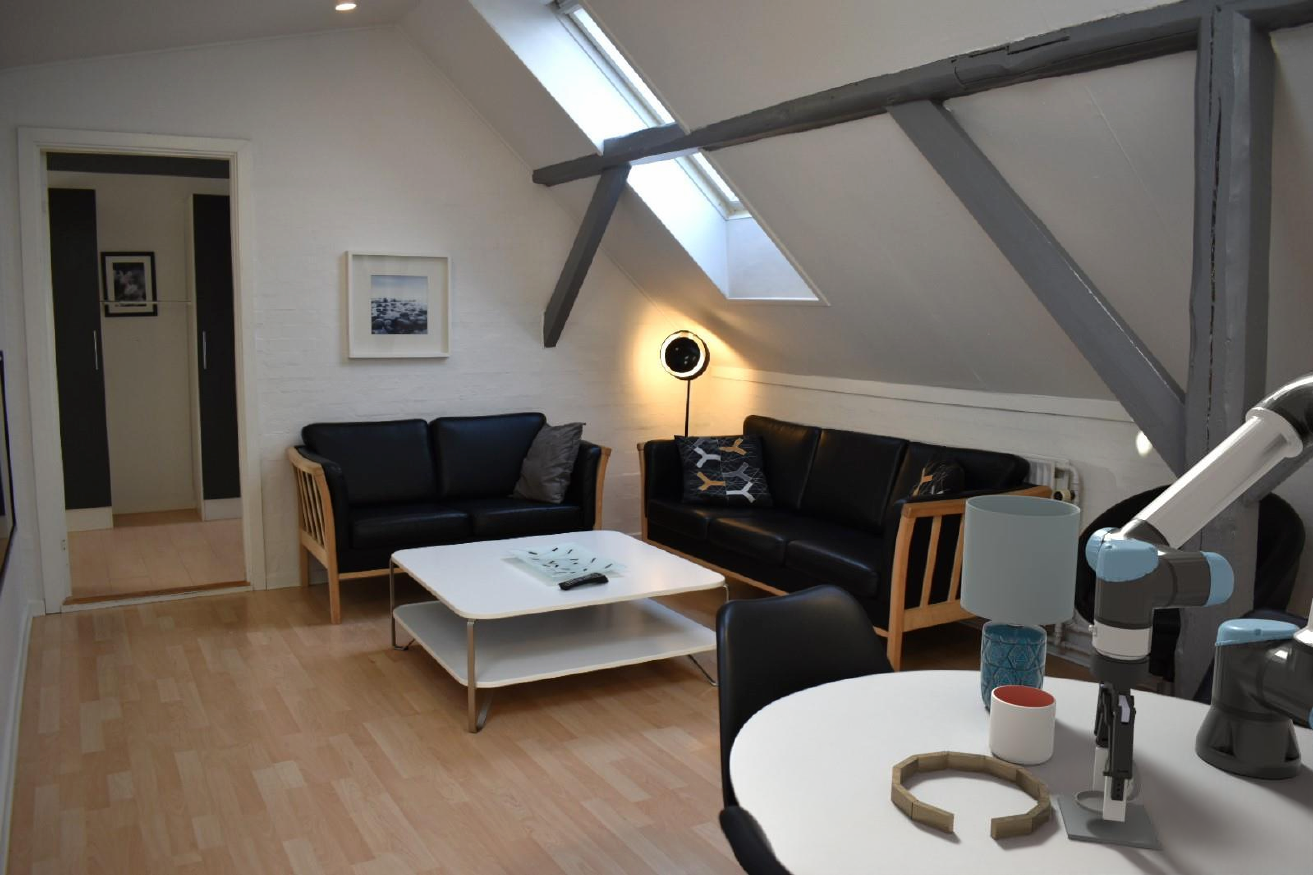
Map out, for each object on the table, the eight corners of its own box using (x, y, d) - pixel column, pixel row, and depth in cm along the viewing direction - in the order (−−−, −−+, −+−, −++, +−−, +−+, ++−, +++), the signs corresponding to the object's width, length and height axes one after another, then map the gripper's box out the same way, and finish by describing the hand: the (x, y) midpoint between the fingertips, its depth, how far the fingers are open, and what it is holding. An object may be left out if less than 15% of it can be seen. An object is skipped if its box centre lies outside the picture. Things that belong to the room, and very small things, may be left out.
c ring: (1039, 776, 167) (1040, 761, 166) (1057, 847, 145) (1058, 830, 145) (893, 759, 172) (893, 744, 172) (889, 826, 150) (890, 809, 150)
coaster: (1143, 808, 157) (1143, 804, 157) (1161, 849, 145) (1161, 845, 145) (1057, 798, 159) (1057, 794, 159) (1068, 837, 148) (1068, 833, 148)
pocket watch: (1068, 808, 151) (1073, 741, 150) (1087, 787, 157) (1092, 723, 156) (1128, 827, 146) (1134, 758, 144) (1146, 805, 152) (1152, 738, 151)
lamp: (969, 728, 185) (981, 515, 180) (944, 687, 204) (954, 493, 199) (1082, 731, 184) (1097, 517, 179) (1046, 690, 203) (1058, 496, 198)
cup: (1056, 770, 169) (1061, 710, 168) (991, 764, 171) (994, 704, 170) (1047, 744, 179) (1051, 687, 177) (985, 738, 181) (988, 682, 179)
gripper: (1080, 626, 160) (1069, 770, 163) (1104, 673, 140) (1091, 836, 143) (1134, 630, 158) (1122, 776, 161) (1166, 679, 138) (1151, 844, 141)
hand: (1107, 804), depth 152 cm, fingers closed on pocket watch, 8 cm apart
